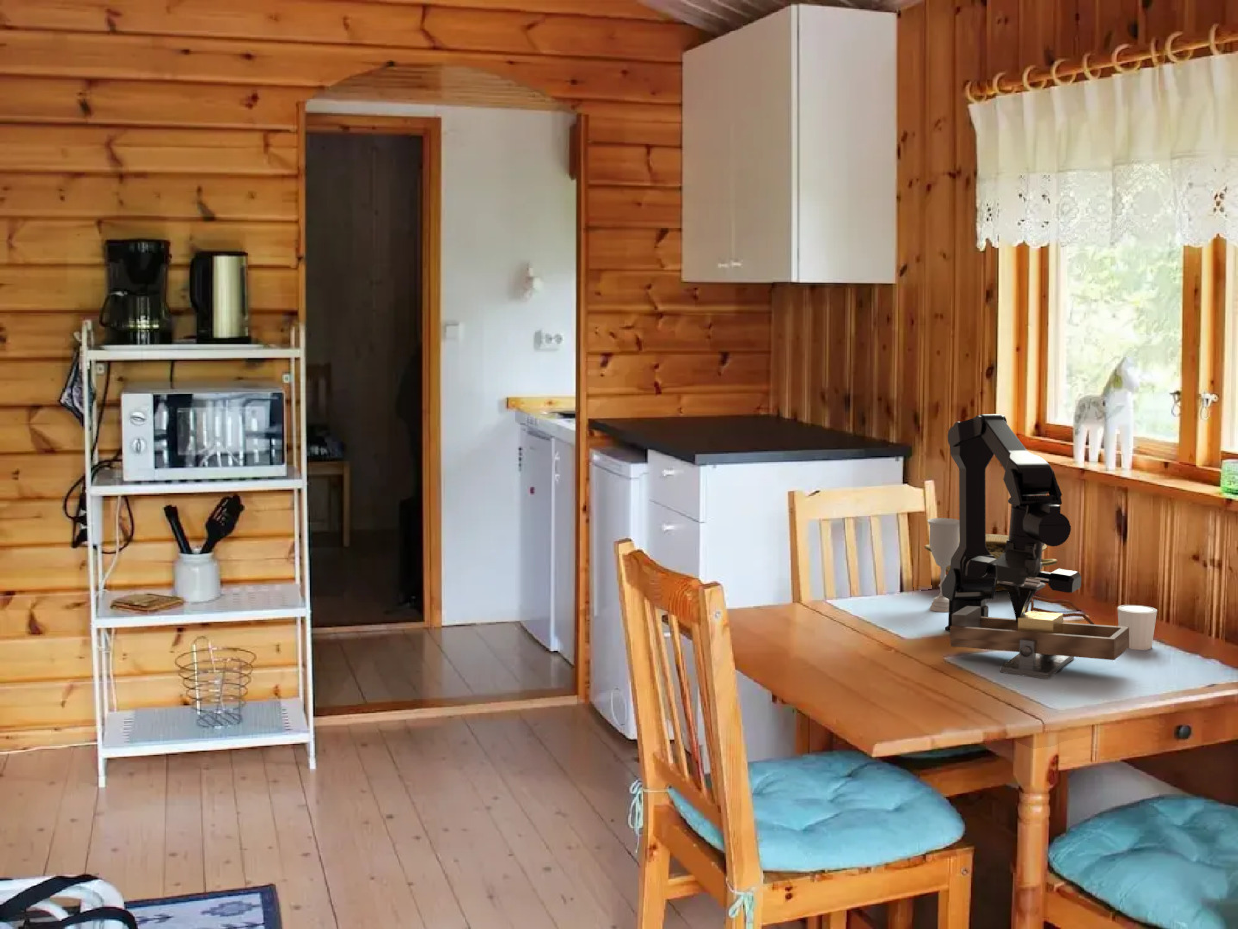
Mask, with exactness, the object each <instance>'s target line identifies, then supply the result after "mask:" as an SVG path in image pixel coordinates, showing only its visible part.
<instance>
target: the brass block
mask: <svg viewBox="0 0 1238 929" xmlns="http://www.w3.org/2000/svg"><path fill="white" fill-rule="evenodd" d="M1063 614H1064V613H1062V612H1058V613H1049V612H1037V611H1030V610H1028V612H1027V613H1025V612H1024V614H1023V615H1022V616H1020V617H1018V631H1030V632H1043V633H1056V634H1064V629H1063V622H1064V617H1063Z"/></svg>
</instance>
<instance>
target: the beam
mask: <svg viewBox="0 0 1238 929" xmlns="http://www.w3.org/2000/svg"><path fill="white" fill-rule="evenodd" d="M1094 624H1095V623H1094ZM1094 624H1090V623H1076V622H1065V621H1063V629H1064V634H1056V633H1043V632H1030V631H1018V623H1017V622H1016V618H1007V617H995V616H994V617H992V616H991V617H990V616H988V617H982V616H981V607H978V606H966V607H964V608H962V609H960V610H959V611H957V612H955V613H953V614H952V626H950V631H949V638H950V640H949V641H950V647H953V648H966V649H979V650H987V651H988V650H989V651H998V652H1000V651H1002V652H1013V653H1019V648H1020V639H1022V638H1026V639H1033V640H1036V654H1047V655H1059V656H1071V657H1074V658H1084V659H1085V658H1087V659H1095V660H1096V659H1097V660H1107V661H1115V660H1116V659H1117V658H1119V657H1120V656H1121V655H1122V654H1123V653H1124V652H1126V651H1127V650H1128V648H1129V627H1122V626H1118V625H1107V624H1095V625H1094Z"/></svg>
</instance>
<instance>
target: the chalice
mask: <svg viewBox="0 0 1238 929" xmlns="http://www.w3.org/2000/svg"><path fill="white" fill-rule="evenodd" d="M927 523H928V525H929V539H928V540H929V541H928V542H929V543H928V545H930V548H931V552H930V553H931V554H932V557H933V559H934V561H935V564H936V565H937V566H938V567H940V574H939V578H940V583H939V584H938V587H939V590H940V592H939V594H938V595H937V596H935V597H934V598H933V599H932V602H931V603H930V604H931V605H930V606H929V610H931V611H934V612H940V613H949V599H947V598H946V597H944V596H942V587H941V585H942V583H943V581H944V579H945V577H946V576H947V572H946V571H945V570H946V567H947V566H950V565H951V558H952V556H953V555H954V553H955V552H956V550H957V548H958V547H959V519H956V518H949V517H948V518H947V517H934V518H929V519H927Z"/></svg>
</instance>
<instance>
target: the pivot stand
mask: <svg viewBox="0 0 1238 929" xmlns="http://www.w3.org/2000/svg"><path fill="white" fill-rule="evenodd" d="M1074 659H1075V657H1071V656H1059V655H1047V654H1036V640H1033V639H1026V638H1022V639H1020V648H1019V652H1018V654H1016V655H1015V656H1013V657H1012V658H1010V659H1009V660H1007V661H1006V662H1004V663H1003V664H1002V665H1000V668H999V670H1000V673H1003V674H1008V675H1009V674H1010V675H1016V676H1018V675H1019V676H1022V675H1024V677H1029V678H1031V677H1032V678H1038V679H1043V680H1049V679H1050V678H1051V677H1052V676H1053V675H1055V674H1056V673H1057V672H1058V671H1060V670H1061V669H1062V668H1064V667H1065V666H1066V665H1067V664H1069V663H1070V662H1072V660H1074Z"/></svg>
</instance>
